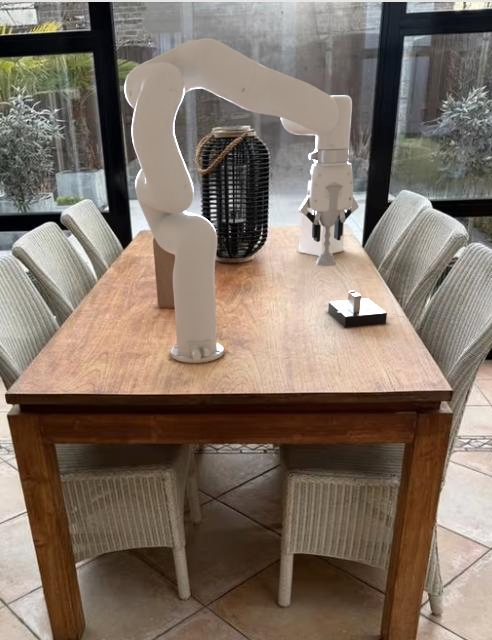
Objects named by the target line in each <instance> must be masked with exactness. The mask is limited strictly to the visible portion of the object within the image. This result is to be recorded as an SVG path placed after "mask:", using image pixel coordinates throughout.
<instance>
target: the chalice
mask: <svg viewBox="0 0 492 640" xmlns="http://www.w3.org/2000/svg"><path fill="white" fill-rule="evenodd" d="M342 187H343V186H341V187H325V188H326V189H327V190H328V192H329V193H330V194H329V197H330V199H329V200H330V202H329V210H328V211H323V212H321V216H320V222H321V225H322V226H324V227H325V229H326V231H325V235H324V237H325V242H324V243H323V244H324V246H325V250H324V252H323V254H320V256H318V258H317V259H316V263H315V265H316V266H319V267H333V266H336V265H337V262H336V258H335V257H334V256H335V255H334V254H333V253H332V254H331V253H329V245H330V244H331V243H330V242H329V238H330V236H331V235H330V231H329V230H330V227H331V226H333V225H334V224H335V222H336V220H337V218H338V216H339V213H340V211H341V210H337V202H338V196H339V190H340V189H341V188H342Z"/></svg>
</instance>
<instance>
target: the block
mask: <svg viewBox="0 0 492 640" xmlns="http://www.w3.org/2000/svg"><path fill="white" fill-rule="evenodd" d="M152 249H153V260H154V274H155V275H154V276H155V287H156V300H157V306H158V308H162V309H175V305H174V291H173V270H174V264H175V255H174V254H171V253H169V252H167V251H165V250H164V249H162V248H161V247H160V246H159V244H158V243H157V241H156V240H155V238H154V237H153V239H152Z"/></svg>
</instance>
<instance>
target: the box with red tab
mask: <svg viewBox="0 0 492 640" xmlns="http://www.w3.org/2000/svg"><path fill="white" fill-rule="evenodd" d="M361 299H362V294H360V293H358V292H357V290H354V289H353V290H349V291H348V294H347V300H348V306H347V309H348V310H350V311H351V312H352V313H353V314H354V313H360V305H361Z"/></svg>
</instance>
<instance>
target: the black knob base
mask: <svg viewBox="0 0 492 640" xmlns="http://www.w3.org/2000/svg"><path fill="white" fill-rule="evenodd" d="M347 306H348V299H345V300H344V299H343V300H334V301H328V309H327V312H328V314H329V315H330V316H331V317H332V318H333V319H335V320H336V321H337V322H338V323H339V325H341V326H342V327H343V328H344V329H348V328H349V329H350V328H358V327H359V328H360V327H371V326H380V325H382V326H383V325H386V324H387V317H388V313H387V312H386V311H385V310H384V309H382V308H381V307H380V306H379V305H377V304H376V303H375V302H373V301H372V300H370V299H369V298H368V297H367V298H361V305H360V313H354V314H353V313H352V312H351V311H350V310H348V309H347Z"/></svg>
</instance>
